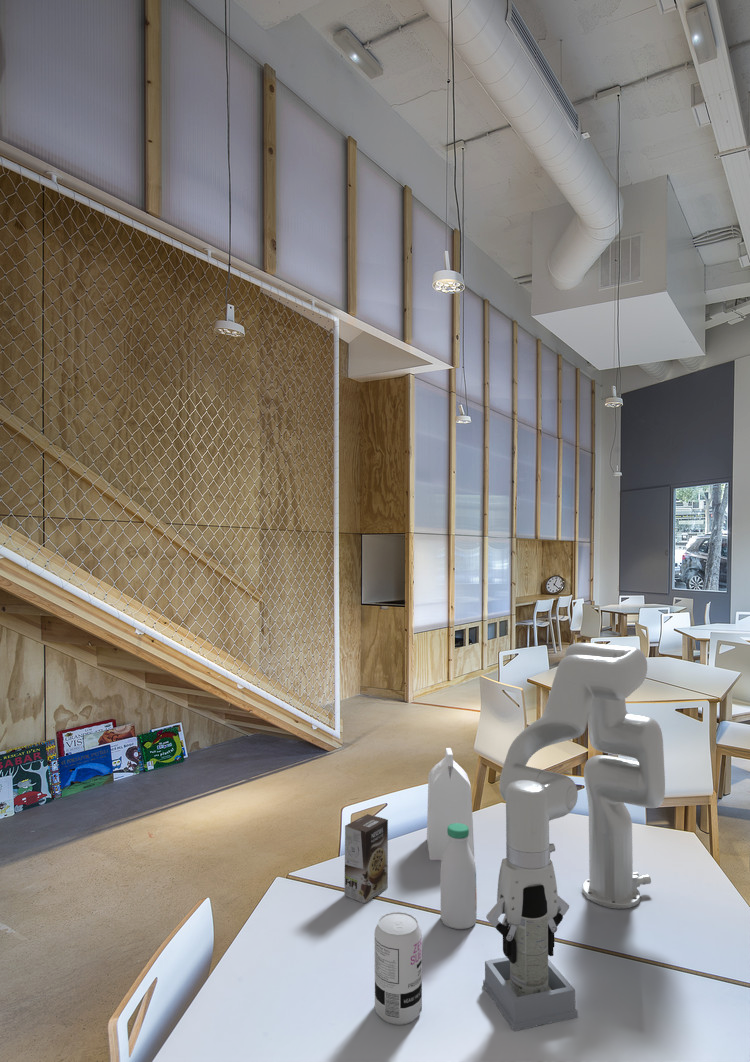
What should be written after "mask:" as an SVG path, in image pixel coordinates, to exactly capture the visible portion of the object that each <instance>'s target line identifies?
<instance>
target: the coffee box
mask: <svg viewBox="0 0 750 1062" xmlns="http://www.w3.org/2000/svg"><path fill="white" fill-rule="evenodd" d="M388 822H389V819H386V818H384V817H381V816H376V815H372V814H368V813H367V814H365V815H363V816H361V817H359V818H357V819H355V820H354V821H352V822H350V823H347V824H346V825H344V887H343V888H344V891H343V892H344V896H346V895H347V896H346V897H348V898H350V897H351V899H353V900H355V901H356V902H360V903H362V904H366V903H367V902H369V901H371V900H372V899H373V897H374V898H375V897H377V896H379V894H381V893H382V892H384V891H386V890H387V889H388V887H389V881H388V879H389V877H388V875H389V872H388V871H389V869H388V868H389V862H388V861H389V860H388V859H389V855H388V854H389V852H388V851H389V849H388V848H389V847H388V846H389V843H388V841H389V838H388V837H389V832H388V831H389V828H388V827H389V826H388V825H389V823H388Z"/></svg>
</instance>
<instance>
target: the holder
mask: <svg viewBox="0 0 750 1062" xmlns="http://www.w3.org/2000/svg"><path fill="white" fill-rule="evenodd" d="M482 986H483V987H484V988H485V990H486V991H487V994H489V996H490V998H491V999H492V1000H493V1002H494V1004H495V1005H496V1006H497V1008H498V1010H500V1012H501V1014H502V1016H503V1018H505V1020H506V1022H507V1023H508V1024H509V1026H510V1027H511V1029H512V1031H514V1032H515V1031H520V1030H525V1029H530V1028H533V1026H535V1027H537V1026H536V1025H539V1026H541V1025H540V1024H544V1025H547V1024H546V1023H548V1024H552V1022H553V1023H555V1022H556V1023H557V1022H561V1021H566V1020H570V1019H574V1018H578V1017H579V1016H578V1014H579V1013H578V1010H577V1009H576V989H575V988H574V987H573V985H572V984H571V983H570V982H569V981H568V979H566V978H565V976H564V975H563V974H562V973H561V972H560V971H559V969H557V967H556V966H555V965H554V963H552V961H551V960H550V959H549V958H548V991H545V992H540V993H535V994H530V995H526V996H521V997H517V996H516V995H515V994H514V992H513V991H512V990H511V988H510V960H509V959H508V958H507V957H506V956H504V957H499V958H493V959H488V960H485V961H484V979H483V980H482ZM529 1027H530V1028H529Z"/></svg>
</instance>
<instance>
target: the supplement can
mask: <svg viewBox="0 0 750 1062" xmlns="http://www.w3.org/2000/svg"><path fill="white" fill-rule="evenodd" d="M422 932H423V931H422V929H421V926H420V925H419V921H418V920H417V918H416V917H415V916H414V915H412V914H410V913H406V912H402V911H401V912H400V911H393V912H388V913H385V914H384V915H381V916H380V917H379V919H378V922H377V923H376V926H375V928H374V1009H375V1011H376V1014H377V1015H378V1016H379V1017H380V1018H381V1019H382V1020H383V1021H385V1022H387V1024H392V1025H396V1026H397V1025H398V1026H401V1025H406V1024H409V1023H412V1022H413V1021H414V1020H416V1019H417V1018H418V1017H419V1016H420V1014H421V1013H422V1010H423V996H422V995H423V992H422V991H423V988H422V987H423V983H422V981H423V979H422V978H423V971H422V970H423V966H422V963H423V962H422V961H423V960H422V959H423V958H422V957H423V955H422V953H423V951H422V948H423V947H422V946H423V945H422V944H423V942H422V939H423V937H422V936H423V935H422Z"/></svg>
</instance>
